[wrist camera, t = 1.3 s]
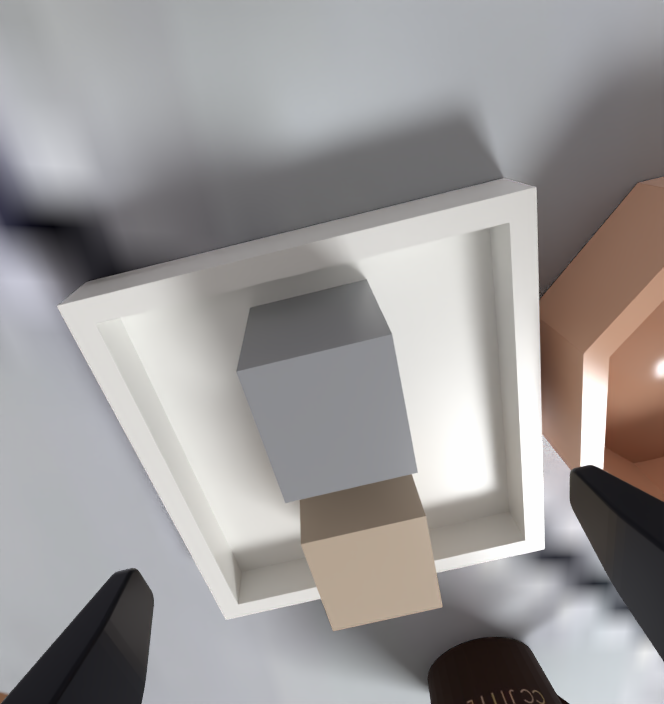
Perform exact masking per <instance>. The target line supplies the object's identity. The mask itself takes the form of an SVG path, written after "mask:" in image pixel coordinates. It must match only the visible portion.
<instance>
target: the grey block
mask: <svg viewBox="0 0 664 704" xmlns="http://www.w3.org/2000/svg"><path fill="white" fill-rule="evenodd" d="M236 372H237V375H238V378H239V380H240V383H241V386H242V388H243V391H244V394H245V396H246V399H247V402H248V404H249V407H250V410H251V413H252V415H253V418H254V421H255V423H256V426H257V429H258V431H259V434H260V437H261V439H262V442H263V445H264V447H265V450H266V453H267V455H268V458H269V461H270V463H271V466H272V469H273V471H274V474H275V477H276V480H277V482H278V485H279V488H280V490H281V493H282V496H283V498H284V501H285V503H288V502H293V501H297V500H301V499H306V498H310V497H314V496H319V495H323V494H327V493H332V492H336V491H340V490H345V489H349V488H354V487H358V486H362V485H367V484H371V483H375V482H380V481H384V480H388V479H393V478H397V477H401V476H406V475H410V474H414V473H418V471H417V465H416V460H415V454H414V449H413V444H412V438H411V433H410V427H409V422H408V417H407V411H406V406H405V400H404V395H403V390H402V384H401V379H400V374H399V368H398V363H397V357H396V352H395V347H394V341H393V336H392V333H391V331H390V328H389V326H388V324H387V322H386V320H385V318H384V315H383V313H382V311H381V309H380V307H379V305H378V303H377V300H376V298H375V296H374V294H373V292H372V290H371V288H370V285H369V283H368V281H367V279H365V280H361V281H357V282H353V283H349V284H345V285H341V286H337V287H332V288H328V289H324V290H320V291H316V292H312V293H308V294H304V295H300V296H296V297H291V298H287V299H283V300H279V301H275V302H271V303H267V304H263V305H259V306H255V307H251V308H250V310H249V315H248V319H247V324H246V329H245V333H244V338H243V342H242V347H241V352H240V356H239V361H238V366H237V370H236Z"/></svg>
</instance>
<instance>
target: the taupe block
mask: <svg viewBox="0 0 664 704" xmlns="http://www.w3.org/2000/svg"><path fill="white" fill-rule="evenodd" d="M300 535H301V547H302V549H303V552H304V555H305V557H306V560H307V563H308V565H309V568H310V571H311V573H312V576H313V579H314V581H315V584H316V587H317V589H318V592H319V595H320V597H321V600H322V603H323V605H324V608H325V611H326V614H327V616H328V619H329V622H330V624H331V627H332V630H333V631H337V630H342V629H346V628H351V627H355V626H360V625H365V624H369V623H374V622H378V621H383V620H387V619H392V618H396V617H401V616H405V615H410V614H415V613H419V612H424V611H428V610H433V609H437V608H442V607H443V605H442V600H441V595H440V589H439V584H438V579H437V573H436V568H435V562H434V557H433V552H432V546H431V541H430V535H429V530H428V525H427V519H426V515H425V512H424V509H423V506H422V503H421V500H420V497H419V494H418V491H417V488H416V485H415V482H414V479H413V476H412V474H410V475H406V476H401V477H397V478H393V479H388V480H384V481H380V482H375V483H371V484H367V485H362V486H358V487H354V488H349V489H345V490H340V491H336V492H332V493H327V494H323V495H319V496H314V497H310V498H306V499H301V500H300Z"/></svg>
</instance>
